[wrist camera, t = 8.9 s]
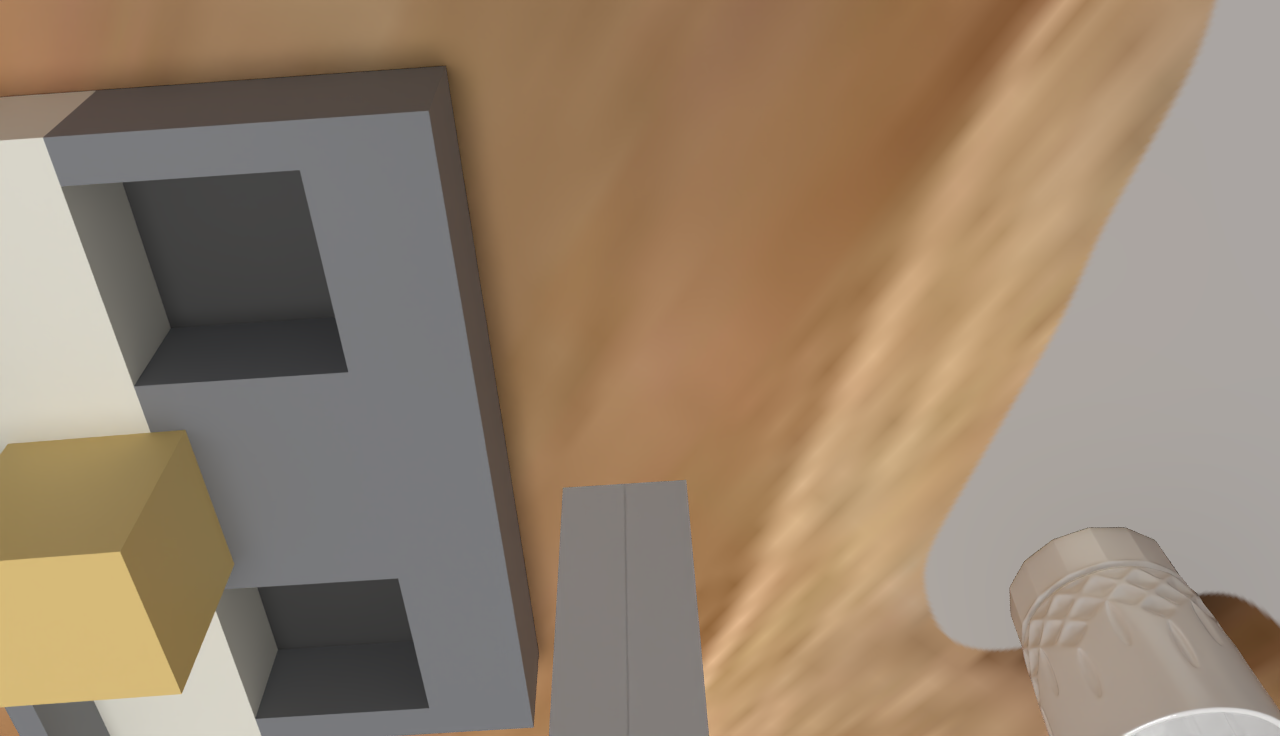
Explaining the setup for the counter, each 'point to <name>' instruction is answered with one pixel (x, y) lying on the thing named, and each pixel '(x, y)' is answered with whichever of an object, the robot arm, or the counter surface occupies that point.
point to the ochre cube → (105, 567)
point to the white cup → (1129, 645)
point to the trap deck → (281, 387)
